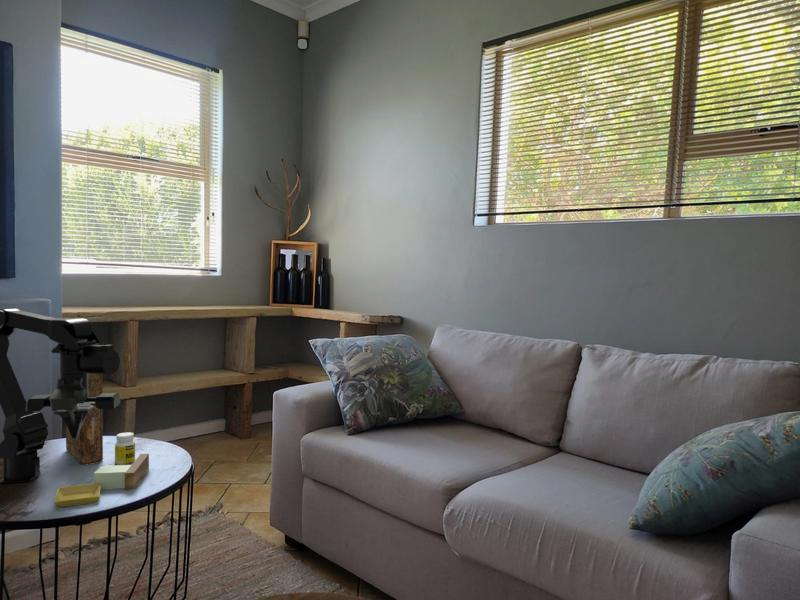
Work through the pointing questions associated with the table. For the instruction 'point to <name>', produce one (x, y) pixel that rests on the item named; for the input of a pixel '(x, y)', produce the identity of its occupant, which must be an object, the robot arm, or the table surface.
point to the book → (89, 430)
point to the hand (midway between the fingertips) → (74, 437)
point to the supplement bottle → (125, 449)
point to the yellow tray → (77, 494)
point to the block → (111, 476)
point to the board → (136, 471)
